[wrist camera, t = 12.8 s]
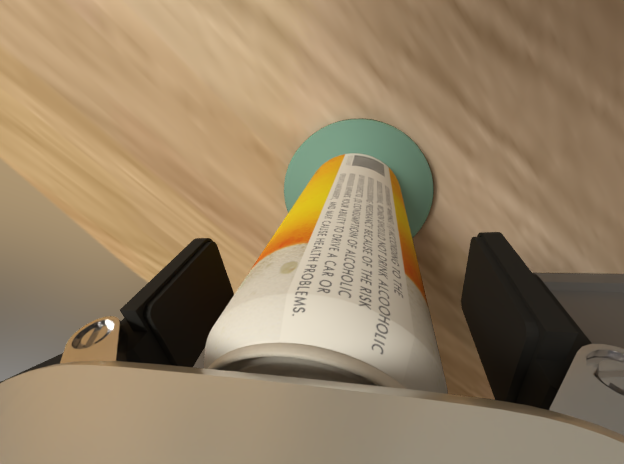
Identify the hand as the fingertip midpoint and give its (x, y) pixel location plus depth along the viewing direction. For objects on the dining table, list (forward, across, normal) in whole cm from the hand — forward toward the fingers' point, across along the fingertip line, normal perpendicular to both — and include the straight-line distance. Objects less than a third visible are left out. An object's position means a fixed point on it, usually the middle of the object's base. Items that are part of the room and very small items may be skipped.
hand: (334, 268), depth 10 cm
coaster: (+10, 0, +1) cm, 10 cm away
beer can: (+10, 0, +1) cm, 10 cm away
